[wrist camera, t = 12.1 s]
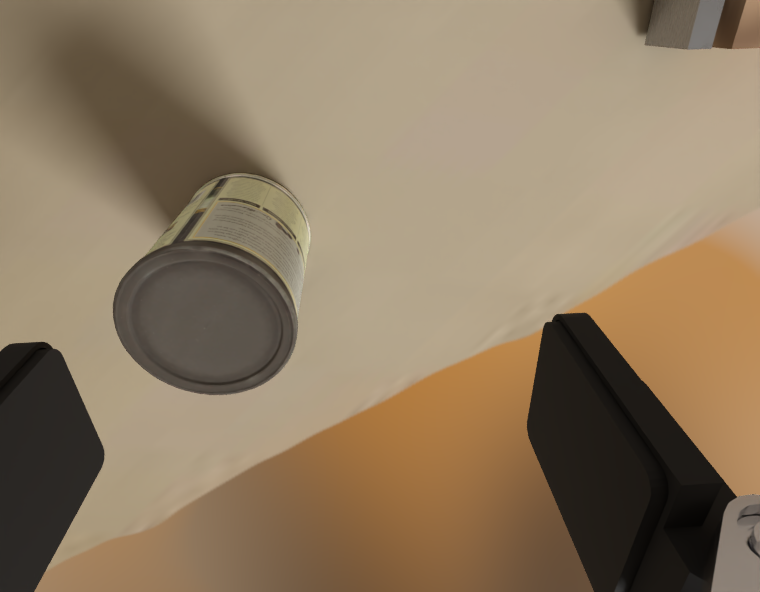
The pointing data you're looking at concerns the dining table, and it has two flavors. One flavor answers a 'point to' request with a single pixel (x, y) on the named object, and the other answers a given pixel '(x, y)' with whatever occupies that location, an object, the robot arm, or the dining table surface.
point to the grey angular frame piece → (684, 23)
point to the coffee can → (219, 289)
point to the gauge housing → (739, 25)
